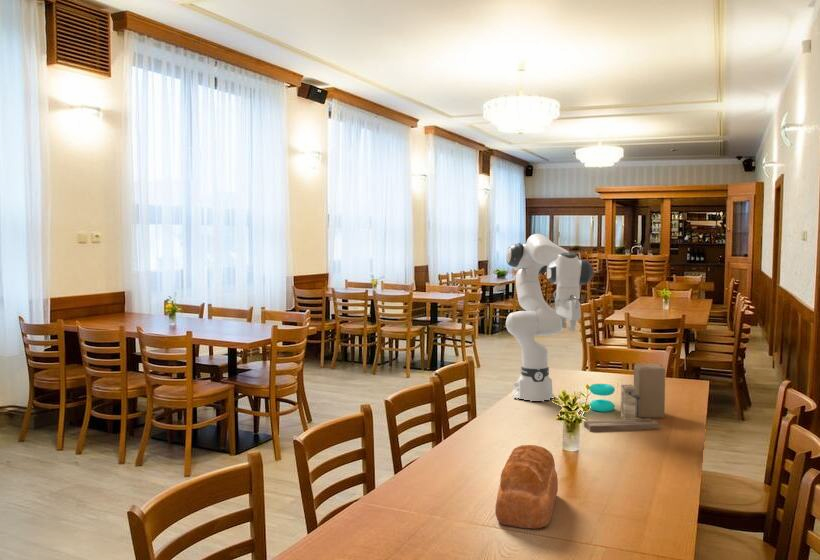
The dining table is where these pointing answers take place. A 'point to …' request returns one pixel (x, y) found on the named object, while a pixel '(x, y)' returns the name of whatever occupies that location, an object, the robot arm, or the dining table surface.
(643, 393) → the grey rectangular block
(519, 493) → the bread
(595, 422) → the board
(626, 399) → the gauge
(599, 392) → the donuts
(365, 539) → the dining table surface
